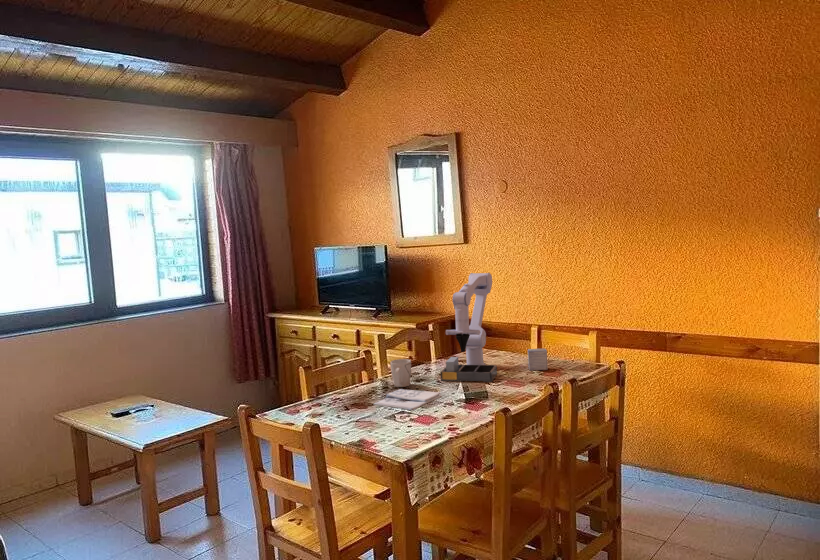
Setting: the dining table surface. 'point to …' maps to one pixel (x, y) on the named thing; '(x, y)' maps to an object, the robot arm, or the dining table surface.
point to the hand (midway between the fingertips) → (463, 351)
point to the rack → (471, 373)
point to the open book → (412, 396)
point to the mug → (401, 372)
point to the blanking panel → (452, 364)
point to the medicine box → (537, 359)
